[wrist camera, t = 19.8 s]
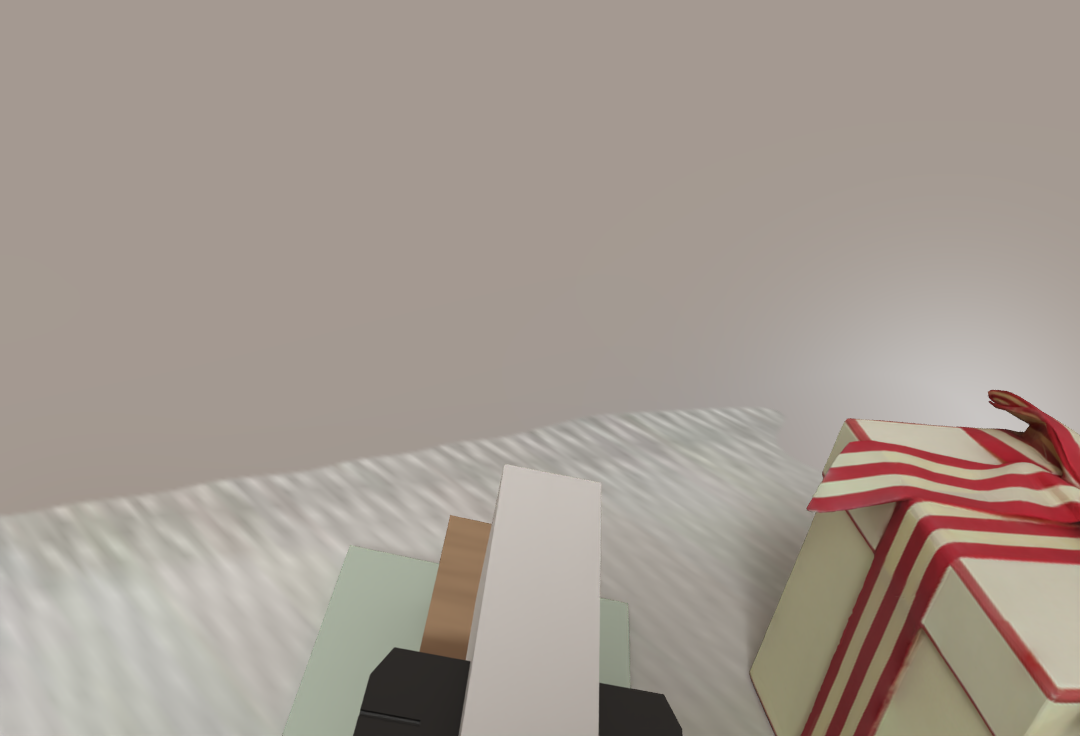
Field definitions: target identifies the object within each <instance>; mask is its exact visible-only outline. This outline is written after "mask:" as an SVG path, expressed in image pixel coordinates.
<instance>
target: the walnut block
mask: <svg viewBox="0 0 1080 736" xmlns="http://www.w3.org/2000/svg"><path fill="white" fill-rule="evenodd" d="M491 526H492V524H489V523H484V522H480V521H475V520H470V519H466V518H461V517H456V516H452V515H450V519H449V523H448V528H447V532H446V536H445V541H444V545H443V550H442V554H441V558H440V563H439V567H438V572H437V576H436V580H435V585H434V589H433V594H432V598H431V602H430V607H429V611H428V616H427V620H426V624H425V629H424V633H423V638H422V642H421V646H420V651H419V652H424V653H429V654H434V655H440V656H445V657H451V658H456V659H461V660H466V655H467V649H468V643H469V638H470V632H471V626H472V620H473V614H474V608H475V602H476V597H477V592H478V587H479V582H480V578H481V573H482V568H483V563H484V559H485V554H486V549H487V545H488V540H489V535H490V530H491Z"/></svg>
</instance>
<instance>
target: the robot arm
mask: <svg viewBox="0 0 1080 736" xmlns="http://www.w3.org/2000/svg"><path fill="white" fill-rule="evenodd" d="M600 557H601V483H600V482H595V481H590V480H585V479H579V478H574V477H569V476H564V475H559V474H553V473H548V472H543V471H538V470H533V469H528V468H522V467H517V466H512V465H507V464H504V469H503V473H502V478H501V483H500V488H499V492H498V497H497V502H496V507H495V511H494V516H493V521H492V526H491V530H490V535H489V540H488V545H487V549H486V554H485V559H484V563H483V568H482V573H481V578H480V582H479V587H478V592H477V597H476V602H475V608H474V614H473V620H472V626H471V632H470V638H469V643H468V649H467V655H466V660H461V659H456V658H451V657H445V656H440V655H434V654H429V653H424V652H418V651H413V650H407V649H402V648H397V647H394V648H393V649H392V650H391V651H390V652H389V654H388V655H387V656H386V657H385V658H384V659H383V660H382V661H381V663H380V664H379V665H378V666H377V667H376V668H375V669H374V670H373V671H372V673H371V674H370V676H369V680H368V683H367V687H366V690H365V694H364V698H363V701H362V705H361V708H360V713H359V716H358V719H357V723H356V726H355V730H354V734H353V736H683V735H682V728H681V726H680V724H679V723H678V721H677V719H676V717H675V715H674V713H673V711H672V709H671V707H670V705H669V704H668V702H667V700H666V698H665V696H664V695H663V694H658V693H653V692H647V691H642V690H636V689H631V688H626V687H620V686H615V685H609V684H604V683H599V647H600Z"/></svg>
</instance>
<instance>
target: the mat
mask: <svg viewBox="0 0 1080 736" xmlns="http://www.w3.org/2000/svg"><path fill="white" fill-rule="evenodd" d="M438 567H439V564H438V563H433V562H428V561H423V560H419V559H414V558H409V557H404V556H400V555H395V554H390V553H385V552H380V551H376V550H371V549H366V548H361V547H357V546H352V545H350V547H349V550H348V552H347V555H346V558H345V561H344V564H343V566H342V569H341V572H340V575H339V578H338V580H337V583H336V586H335V589H334V592H333V594H332V597H331V600H330V603H329V606H328V608H327V611H326V614H325V617H324V620H323V622H322V625H321V628H320V631H319V634H318V636H317V639H316V642H315V645H314V648H313V650H312V653H311V656H310V659H309V662H308V665H307V667H306V670H305V673H304V676H303V679H302V681H301V684H300V687H299V690H298V693H297V695H296V698H295V701H294V704H293V707H292V709H291V712H290V715H289V718H288V721H287V723H286V726H285V729H284V732H283V735H282V736H353V734H354V730H355V726H356V723H357V719H358V716H359V713H360V708H361V705H362V701H363V698H364V694H365V690H366V687H367V683H368V680H369V676H370V674H371V673H372V671H373V670H374V669H375V668H376V667H377V666H378V665H379V664H380V663H381V661H382V660H383V659H384V658H385V657H386V656H387V655H388V654H389V652H390V651H391V650H392V649H393V648H394V647H397V648H402V649H407V650H413V651H418V652H419V651H420V646H421V642H422V638H423V633H424V629H425V624H426V620H427V616H428V611H429V607H430V602H431V598H432V594H433V589H434V585H435V580H436V576H437V572H438ZM599 683H604V684H609V685H615V686H620V687H626V688H630V656H629V621H628V603H624V602H619V601H614V600H609V599H605V598H600V647H599Z"/></svg>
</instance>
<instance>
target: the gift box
mask: <svg viewBox="0 0 1080 736" xmlns="http://www.w3.org/2000/svg"><path fill="white" fill-rule="evenodd" d="M988 396H989V398H990V399H991V400H992V401H993V402H994V403H992V402H991V401H989V403H990V404H992V405H993V406H994V407H995V408H998V409H1002V410H1006V411H1007V412H1009V413H1011V414H1012V415H1014V416H1016V417H1017V418H1019V419H1020V420H1022V421H1025V422H1026V423H1028V424H1029V427H1028V428H1027V430H1026V431H1025V432H1016V431H1012V430H1007V429H983V428H982V429H981V428H969V427H949V426H936V425H925V424H915V423H903V422H893V421H881V420H862V419H851V418H850V419H847V420H846V421H845V422H844V424H843V426H842V428H841V430H840V433H839V435H838V437H837V439H836V442H835V445H834V447H833V449H832V452H831V454H830V456H829V458H828V460H827V463H826V465H825V467H824V470H823V472H822V475H823V481H822V483H821V484H820V485H819V486H818V489H817V491H816V493H815V494H814V495H813V498H812V500H811V501H810V503H809V505H808V507H807V510H808V511H810V512H816V514H815V516H814V519H813V522H812V524H811V527H810V529H809V532H808V534H807V536H806V539H805V541H804V543H803V546H802V548H801V550H800V553H799V555H798V558H797V560H796V563H795V565H794V567H793V570H792V572H791V575H790V577H789V579H788V582H787V584H786V586H785V589H784V591H783V594H782V596H781V598H780V601H779V603H778V606H777V608H776V611H775V613H774V616H773V618H772V620H771V622H770V624H769V627H768V629H767V632H766V634H765V637H764V640H763V642H762V644H761V647H760V649H759V651H758V654H757V656H756V658H755V661H754V663H753V665H752V668H751V670H750V676H751V679H752V682H753V684H754V687H755V689H756V691H757V694H758V696H759V698H760V701H761V703H762V706H763V708H764V710H765V713H766V715H767V717H768V719H769V722H770V724H771V726H772V729H773V731H774V733H775V735H776V736H1080V435H1079V434H1078V433H1076V432H1075V431H1073V430H1072V429H1070V428H1069V427H1067V426H1066V425H1064V424H1062V423H1061V422H1059V421H1058V420H1056V419H1054V418H1053V417H1051V416H1049V415H1047V414H1046V413H1044V412H1042V411H1041V410H1039V409H1038V408H1037V407H1035V406H1034V405H1032V404H1031V403H1029V402H1027V401H1026V400H1024V399H1023V398H1021V397H1019V396H1017V395H1015V394H1013V393H1011V392H1008V391H1001V390H990V391H989V392H988Z"/></svg>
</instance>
